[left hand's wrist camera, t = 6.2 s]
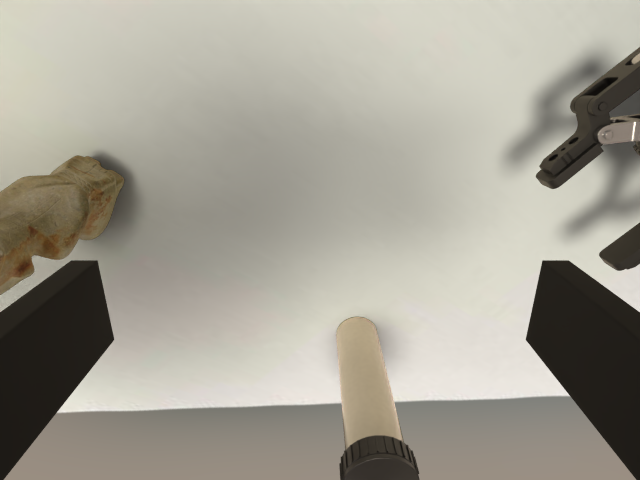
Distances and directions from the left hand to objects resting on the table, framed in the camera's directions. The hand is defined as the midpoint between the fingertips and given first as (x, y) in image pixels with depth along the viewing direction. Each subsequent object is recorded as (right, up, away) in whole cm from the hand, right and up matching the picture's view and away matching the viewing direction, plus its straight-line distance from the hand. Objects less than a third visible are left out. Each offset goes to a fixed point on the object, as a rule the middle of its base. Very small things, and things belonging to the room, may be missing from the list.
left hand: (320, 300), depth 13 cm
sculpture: (-20, +6, +24) cm, 31 cm away
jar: (+4, -8, +29) cm, 31 cm away
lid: (+4, -14, +14) cm, 20 cm away
